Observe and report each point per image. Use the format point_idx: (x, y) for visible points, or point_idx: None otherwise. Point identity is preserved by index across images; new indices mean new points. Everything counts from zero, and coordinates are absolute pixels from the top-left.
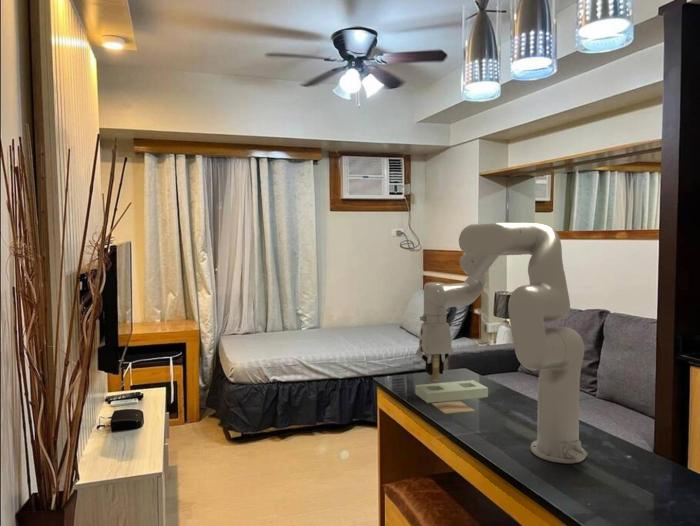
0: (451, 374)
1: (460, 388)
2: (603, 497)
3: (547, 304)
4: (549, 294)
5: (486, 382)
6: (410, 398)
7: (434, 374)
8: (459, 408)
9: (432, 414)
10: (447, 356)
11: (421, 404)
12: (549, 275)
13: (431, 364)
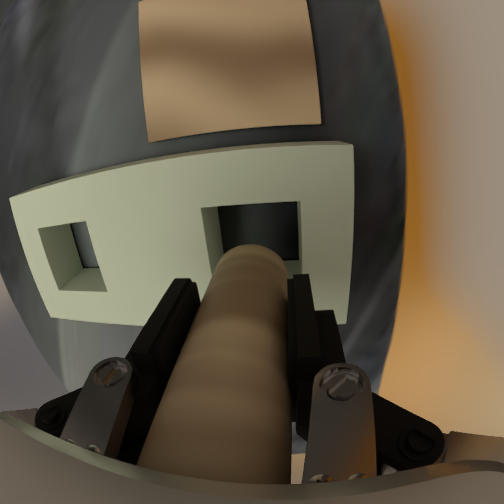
0: None
1: (105, 210)
2: None
3: None
4: None
5: (43, 343)
6: (375, 261)
7: (261, 278)
8: (196, 25)
9: (356, 13)
10: (53, 404)
11: (363, 159)
12: None
13: (305, 345)
